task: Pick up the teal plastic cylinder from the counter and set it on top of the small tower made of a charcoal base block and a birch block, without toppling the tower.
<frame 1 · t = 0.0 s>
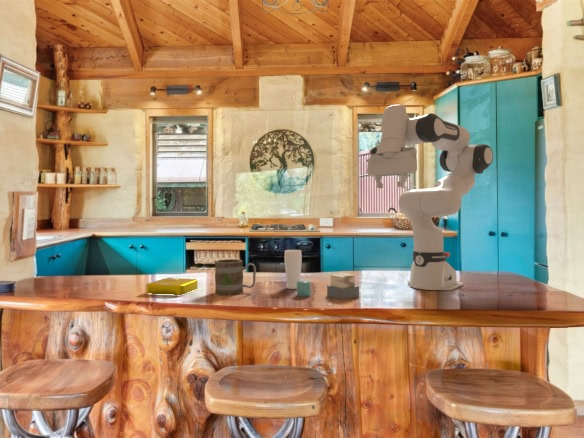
hand: (389, 187, 147), 39 cm above the table, tool pointing down, fingers open, 8 cm apart
tower top: (342, 286, 146), point 4 cm above the table, touching tower base
tower base: (343, 297, 146), on the table, touching tower top
element tile: (172, 293, 157), on the table
teal cylinder: (303, 295, 148), on the table
mug: (235, 293, 154), on the table
drinking glass: (293, 288, 161), on the table
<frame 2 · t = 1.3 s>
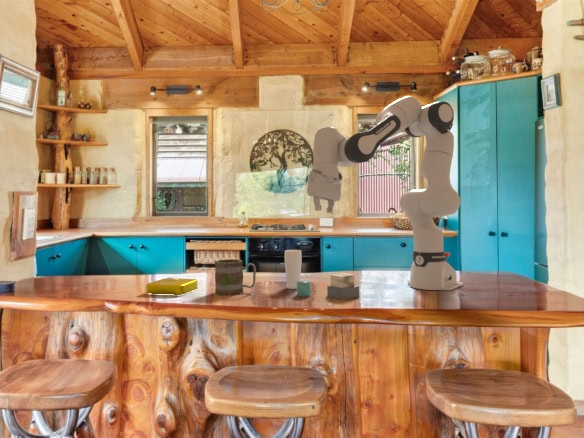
hand: (324, 211, 143), 30 cm above the table, tool pointing down, fingers open, 8 cm apart
tower top: (342, 285, 146), point 4 cm above the table
tower base: (343, 297, 146), on the table
everything else where it was.
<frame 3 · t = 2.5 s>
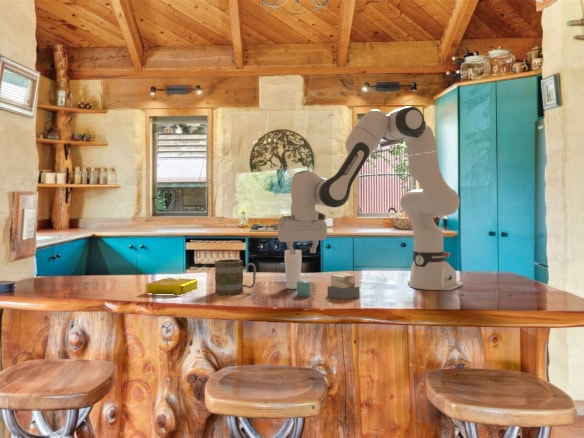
hand: (302, 253, 147), 15 cm above the table, tool pointing down, fingers open, 8 cm apart
nothing on the table moved.
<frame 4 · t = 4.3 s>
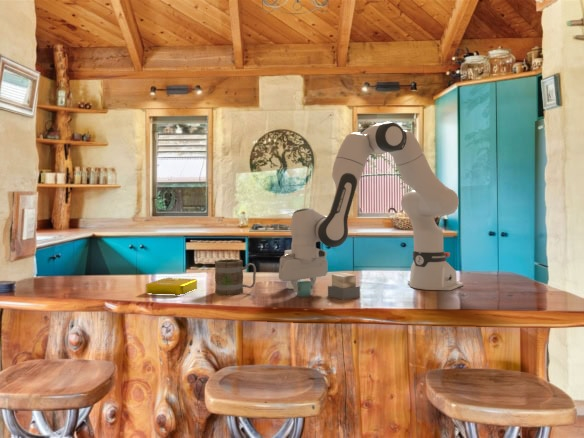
hand: (303, 290, 148), 2 cm above the table, tool pointing down, fingers closed on teal cylinder, 5 cm apart
teal cylinder: (303, 295, 148), on the table, touching gripper
everything else where it was.
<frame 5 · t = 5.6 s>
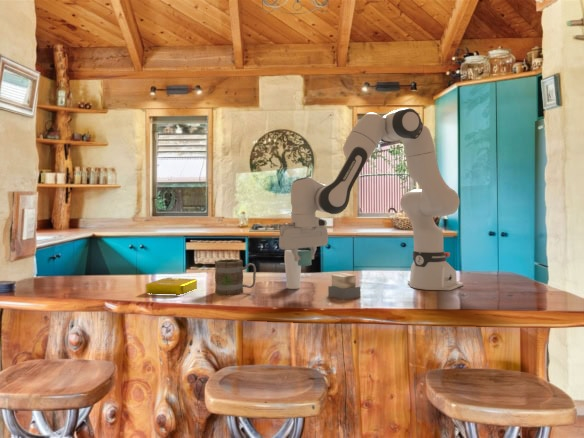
hand: (304, 260, 148), 13 cm above the table, tool pointing down, fingers closed on teal cylinder, 5 cm apart
tower top: (343, 286, 146), point 4 cm above the table, touching tower base
tower base: (344, 297, 146), on the table, touching tower top
teal cylinder: (304, 264, 148), point 11 cm above the table, touching gripper
everything else where it was.
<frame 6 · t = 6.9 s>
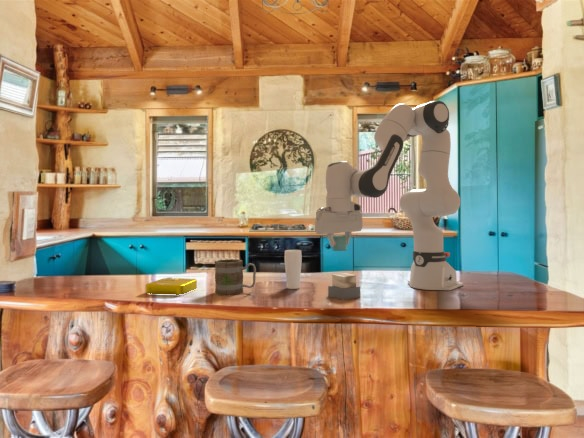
hand: (339, 245, 146), 18 cm above the table, tool pointing down, fingers closed on teal cylinder, 5 cm apart
tower top: (344, 286, 146), point 4 cm above the table
tower base: (344, 297, 145), on the table
teal cylinder: (339, 250, 146), point 17 cm above the table, touching gripper
everything else where it was.
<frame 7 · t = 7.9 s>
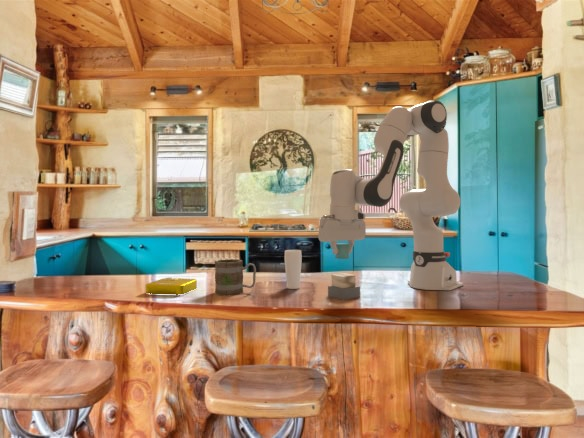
hand: (342, 253, 145), 15 cm above the table, tool pointing down, fingers closed on teal cylinder, 5 cm apart
teal cylinder: (342, 258, 145), point 14 cm above the table, touching gripper
everything else where it was.
when the fingers open (11 cm above the table, at t = 9.4 s): teal cylinder drops 2 cm, point 8 cm above the table.
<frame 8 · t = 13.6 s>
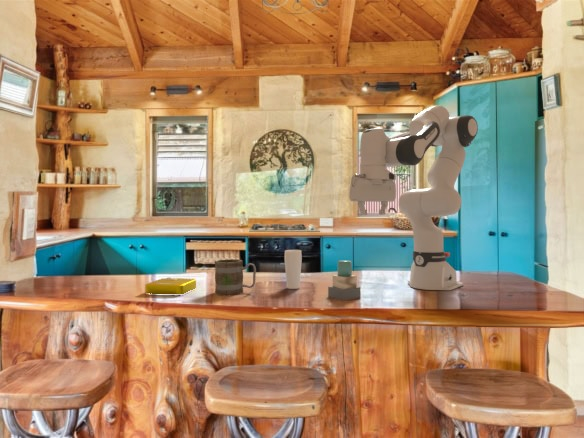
hand: (373, 214, 141), 29 cm above the table, tool pointing down, fingers open, 8 cm apart
tower top: (344, 286, 145), point 4 cm above the table, touching tower base
tower base: (344, 298, 145), on the table, touching tower top
teal cylinder: (344, 275, 145), point 8 cm above the table
everything else where it was.
at the end: teal cylinder 0.7 cm off-centre on the tower base, point 8.0 cm above the tower base's base; tower top 0.2 cm off-centre on the tower base, point 4.0 cm above the tower base's base; the gripper is holding nothing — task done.
